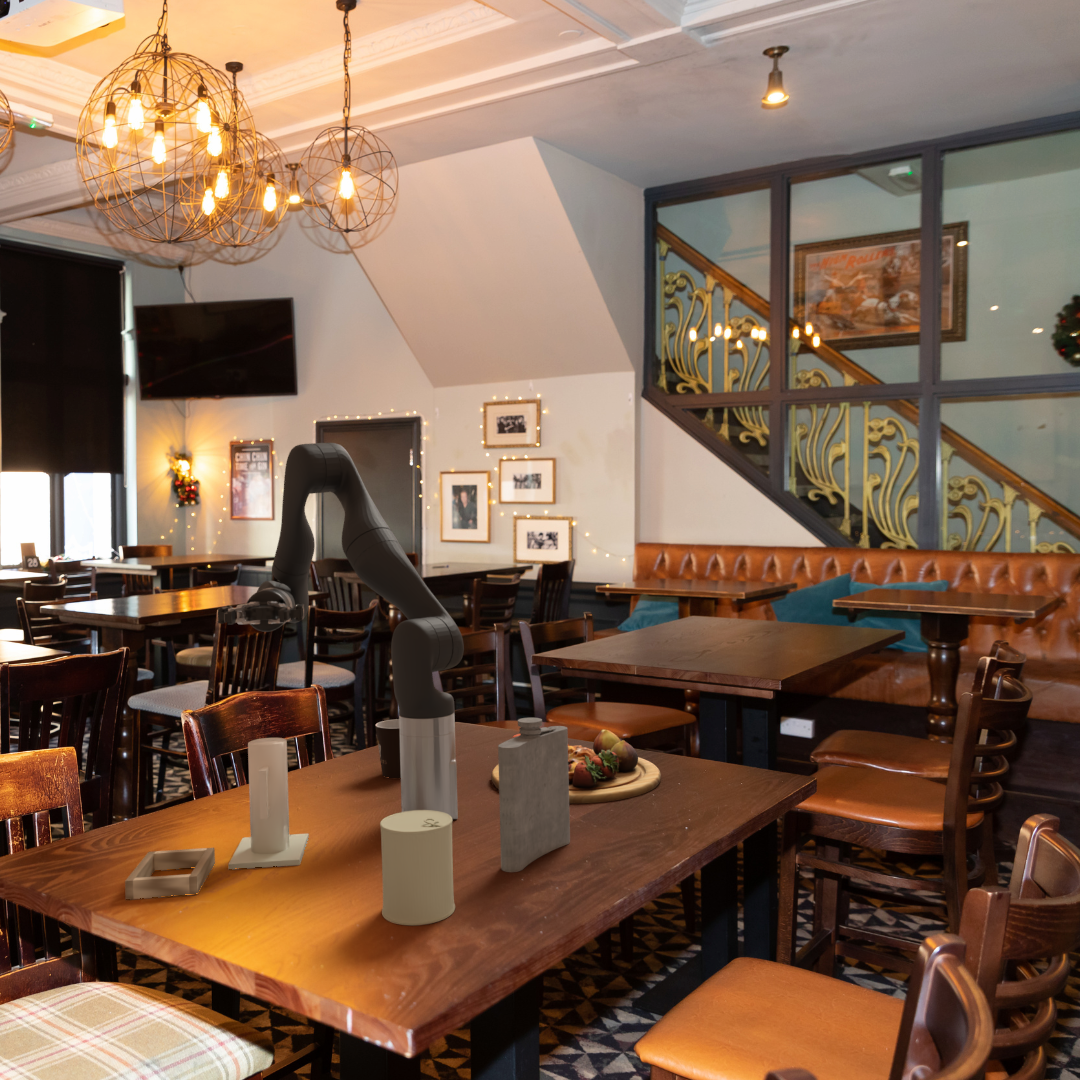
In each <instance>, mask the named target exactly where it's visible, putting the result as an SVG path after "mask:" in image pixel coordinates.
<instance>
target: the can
mask: <svg viewBox="0 0 1080 1080" xmlns="http://www.w3.org/2000/svg"><path fill="white" fill-rule="evenodd" d="M453 820H454V819H452V817H451V816H450V815H449V814H446V813H444V812H440V811H432V810H414V811H405V812H402V811H401V812H396V813H393V814H391V815H388V816H386V817H384V818H383V819H381V821H380V822H379V827H380V839H381V845H380V846H381V869H382V871H381V872H382V909H381V914H382V915H381V916H382V917H383V918H384V919H385V920H386V921H387V922H389V923H393V924H395V925H396V924H397V925H402V926H423V925H429V924H430V925H431V924H434V923H438V922H441V921H443V920H445V919H447V918H449V917H450V916H451V915H452V914H454V913H455V910H456V904H455V897H454V896H455V895H454V872H453V871H454V870H453V867H454V866H453V863H454V862H453Z"/></svg>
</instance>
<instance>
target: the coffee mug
mask: <svg viewBox="0 0 1080 1080" xmlns="http://www.w3.org/2000/svg"><path fill="white" fill-rule="evenodd" d="M375 731H376V732H375V733H376V738H377V739H376V740H377V747H378V752H379V753H378V754H379V760H380V767H381V774H382V777H383V776H385V777H389V778H401V767H400V727H399V718H398V719H397V718H396V719H387V720H384V721H383V720H382V721H379V722H377V723H376V724H375ZM385 777H384V778H385ZM389 778H388V779H389Z"/></svg>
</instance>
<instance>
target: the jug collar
mask: <svg viewBox="0 0 1080 1080" xmlns="http://www.w3.org/2000/svg"><path fill="white" fill-rule="evenodd" d="M215 850H216V849H215V847H204V848H203V847H201V848H190V849H189V848H188V849H173V850H170V849H169V850H158V851H156V850H155V851H148V852H147V853H146V854H145V856H144V857H142V859H141V860H140V861H139V863H138V864H137V866H136V867H135V868H134V869H133V871H132V872H131V873H130V874H129V875H128V876H127V878H126V879H125V880H124V887H125V888H124V890H125V893H124V894H125V900H126V899H130V900H142V898H144V899H153V898H152V897H158V898H162V897H161V896H171V895H173V897H175V896H174V895H185V894H196V893H198V892H199V893H200V891H201V889H202V888H201V886H202V885H203V886H204V884H205V883H204V882H206V881H207V879H208V877H209V876H210V874H211V872H212V871H213V869H212V868H214V867H215V865H216V858H215V855H216V854H215ZM214 864H215V865H214ZM213 866H214V867H213ZM191 867H195V868H193V870H192V871H191V873H188V874H187V873H186V874H173V875H170V874H169V875H160V876H152V875H153V874H152V873H154V872H156V871H155V870H161V871H168V870H167V869H176V870H180V869H179V868H191ZM191 869H192V868H191ZM211 870H212V871H211ZM210 871H211V872H210ZM209 873H210V874H209ZM208 875H209V876H208ZM207 876H208V877H207ZM206 878H207V879H206ZM205 880H206V881H205ZM203 883H204V884H203ZM203 886H202V887H203ZM200 888H201V889H200ZM199 890H200V891H199ZM199 893H198V894H199ZM140 898H141V899H140Z"/></svg>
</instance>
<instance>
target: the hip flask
mask: <svg viewBox="0 0 1080 1080" xmlns="http://www.w3.org/2000/svg"><path fill="white" fill-rule="evenodd" d="M541 726H543V719H542V718H539V717H523V718H518V719H517V727H519V731H518V732H519V733H518V734H521V735H520V736H517V737H514V738H512V737H511V738H512V739H511V738H510V739H508V740H505V741H503V742H501V743H499V744H498V745H497V750H498V751H497V752H498V755H497V756H498V757H497V759H498V764H499V789H498V792H499V827H500V828H499V831H500V832H499V833H500V838H499V839H500V870H501V871H503V872H506V873H517V872H521V871H523V870H524V869H525V868H526V867H527V866H528V865H530V864H531V863H532V862H534V861H536V860H537V859H539V858H541V857H542V856H544V855H546V854H549V853H550V852H552V851H554V850H556V849H559V848H561V847H564V846H567V845H569V844H570V843H571V828H570V826H571V825H570V820H571V819H570V804H569V774H568V744H569V743H568V742H569V739H568V738H569V736H568V727H567V726H564V725H552V726H544V727H541Z"/></svg>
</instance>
